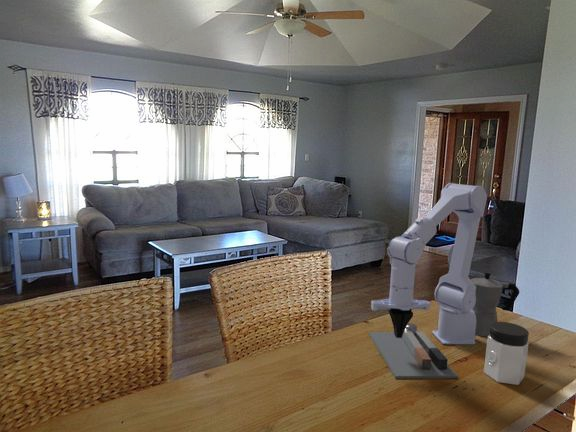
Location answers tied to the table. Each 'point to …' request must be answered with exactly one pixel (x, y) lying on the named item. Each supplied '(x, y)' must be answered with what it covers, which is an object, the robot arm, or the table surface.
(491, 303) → the coffeepot
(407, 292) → the robot arm
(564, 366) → the table surface
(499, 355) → the jar
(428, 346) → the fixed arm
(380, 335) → the slate mat
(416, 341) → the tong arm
